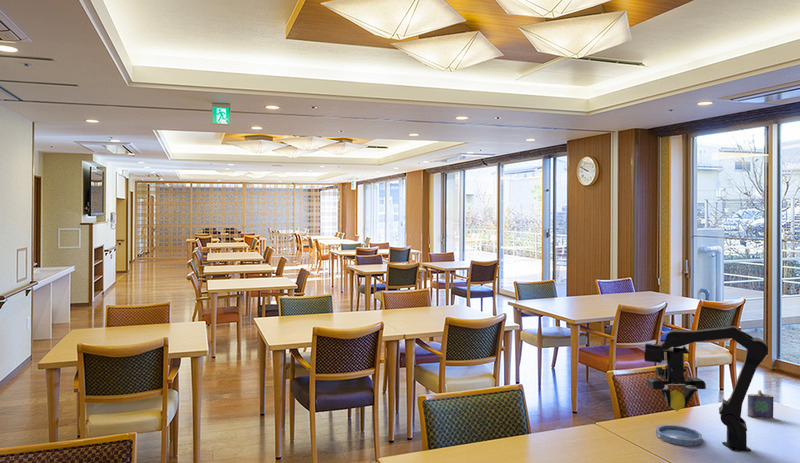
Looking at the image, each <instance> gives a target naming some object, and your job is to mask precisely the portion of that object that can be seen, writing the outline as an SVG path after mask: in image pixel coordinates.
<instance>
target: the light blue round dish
mask: <svg viewBox="0 0 800 463" xmlns="http://www.w3.org/2000/svg"><path fill="white" fill-rule="evenodd" d="M655 436H656V437H657V438H658V439H660V440H661V441H663V442H665V443H669V444H672V445H676V446H683V447H694V446H697V447H698V446H699V445H702V443H703V434H702V433H700V432H699V430H698V431H697V430H696V429H692V428H690V427H687V426H682V425H676V424H662V425H658V426H656V429H655Z"/></svg>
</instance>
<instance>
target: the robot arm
mask: <svg viewBox="0 0 800 463" xmlns="http://www.w3.org/2000/svg"><path fill="white" fill-rule="evenodd" d="M726 339H727V340H728V339H729V340H730V339H732V340H734V341H735V342H736V343H737V344H739V345H741V346H742V347H744V348H745V352H744V353H745V355H744V362H743V364H742V367H741V369H740V371H739V375H738V376H737V379H736V382H735V384H734V387H733V388H732V389H733V390H732V391H731V394H730V397H729V398H728V399H727V400H726V399H724V398H722V402H721V405H720V407H718V414H719V415H720V416H719V417H720V422H721V423H722V424H723V425H724V426H726V441H721V442H722V445H723V446H725V447H727V448H728V449H729V450H731V451H734V452H736V451H737V452H752V449H751V448H750V447H749V446H747V444H748V442H747V439H748V438H747V436H748V435H747V434H748V433H747V432H748V427H747V422H746V421H745V419H744V418H743V417H741V416H742V410H743V409H742V408H743V402H744V401H745V397H746V396H747V392H748V391H749V387H750V386H751V384H752V380H753V377H755V373H756V371H757V368H758V367H759V366H760V364H761V363H763V361H764V359H765V358H766V356H767V355H768V353H769V347H768V345H767V344H766V342H765V341H764V340H763V339H762V338H759V337H753V336H751V335H750V334H748V333H747V332H745V331H742V330H741V329H739V328H738V327H737V326H735V325H729V326H725V327H723V326H722V327H714V328H705V329H697V330H695V329H694V330H689V329H680V328H679V329H678V328H673V329H670V330H669V331H668V332H667V334H666V336H665V340H664V341H662V343H661V344H652V343H647V342H646V343H645V346H644V347H645V348H644V354H643V356H644V362H645V363H656V364H657V363H658V364H662V363H663V361H665V360H666V364H665V367H664V369H663V367H661V366H657V367H655V376H656V377H648V379H647V381H646V383H647V385H646V386H648V387H650V388H651V389H653V390H659V391H660V392H661V395H662V396H663V398H664V399H663V400H664V401H665V404H666V406H667V408H671V406H670V392H671V390H670V389H669V387H682V391H683V393H682V394H683V395H684V398H685V405H684V407H683V408H687V406H688V404H689V403H690V400H691V398H692V397H693V395H694V394H695V392H698V390H706V389H707V387H706V385H707V384H706V382H705V381H704V380H703V379H701V378H699V377H687V379H686V376H685V374H686V372H687V368H685V354H687V355H689V354H690V352H691V350H690V349H688V348H687V347H686V345H689V344H692V343H696V342H708V341H709V342H710V341H718V340H726ZM671 348H672V349H671ZM658 377H660V378H658Z"/></svg>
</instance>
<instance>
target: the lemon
mask: <svg viewBox="0 0 800 463" xmlns="http://www.w3.org/2000/svg"><path fill="white" fill-rule="evenodd" d="M684 405H685V398H684V395H683V393H682V392H681V391H680V390H678V389H674V390H670V408H671V409H673V410H674V411H675V412H678V411H680V410H682V409H684V408H685V407H684Z"/></svg>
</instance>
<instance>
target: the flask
mask: <svg viewBox="0 0 800 463" xmlns="http://www.w3.org/2000/svg"><path fill="white" fill-rule="evenodd" d="M746 412H747V413H746V414H747V417H749V416H751V417H750V418H754V417H755V418H757V417H768V418H767V419H770V418H772V419H774V396H773V395H772V394H768V393H763V392H762V390H757V393H755V394H754V393H748V394H747V411H746Z"/></svg>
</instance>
